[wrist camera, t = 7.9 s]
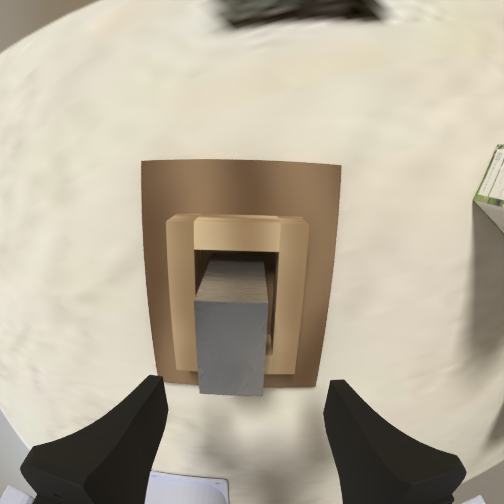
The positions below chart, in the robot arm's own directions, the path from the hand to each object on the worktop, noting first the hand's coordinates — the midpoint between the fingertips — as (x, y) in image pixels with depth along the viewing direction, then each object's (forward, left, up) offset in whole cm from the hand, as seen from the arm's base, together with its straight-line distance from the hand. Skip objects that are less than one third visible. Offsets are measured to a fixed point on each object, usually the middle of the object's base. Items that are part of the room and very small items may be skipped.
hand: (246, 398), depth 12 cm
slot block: (-1, +2, -9) cm, 9 cm away
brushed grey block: (-1, +2, -8) cm, 8 cm away
